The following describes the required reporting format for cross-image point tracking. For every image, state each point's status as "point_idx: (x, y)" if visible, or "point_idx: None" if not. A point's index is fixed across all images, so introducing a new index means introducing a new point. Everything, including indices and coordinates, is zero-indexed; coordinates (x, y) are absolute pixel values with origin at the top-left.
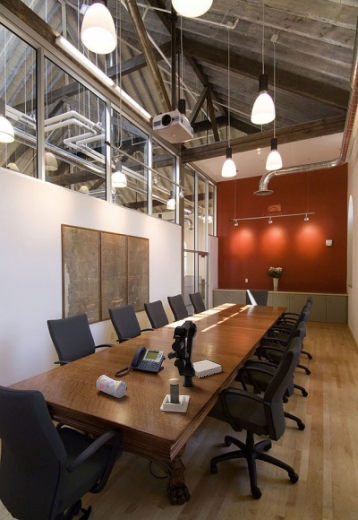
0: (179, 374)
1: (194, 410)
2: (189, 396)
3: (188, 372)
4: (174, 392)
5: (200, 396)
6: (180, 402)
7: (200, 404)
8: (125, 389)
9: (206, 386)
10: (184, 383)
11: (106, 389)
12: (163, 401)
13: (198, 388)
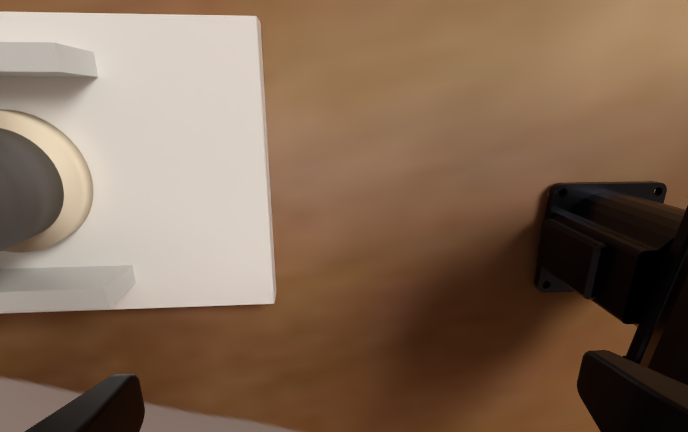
0: (66, 407)
1: (30, 367)
2: (262, 302)
3: (661, 364)
4: None
5: (321, 380)
6: (26, 251)
7: (161, 398)
8: None
9: (539, 402)
10: (592, 201)
11: None
12: (35, 14)
13: (495, 342)
